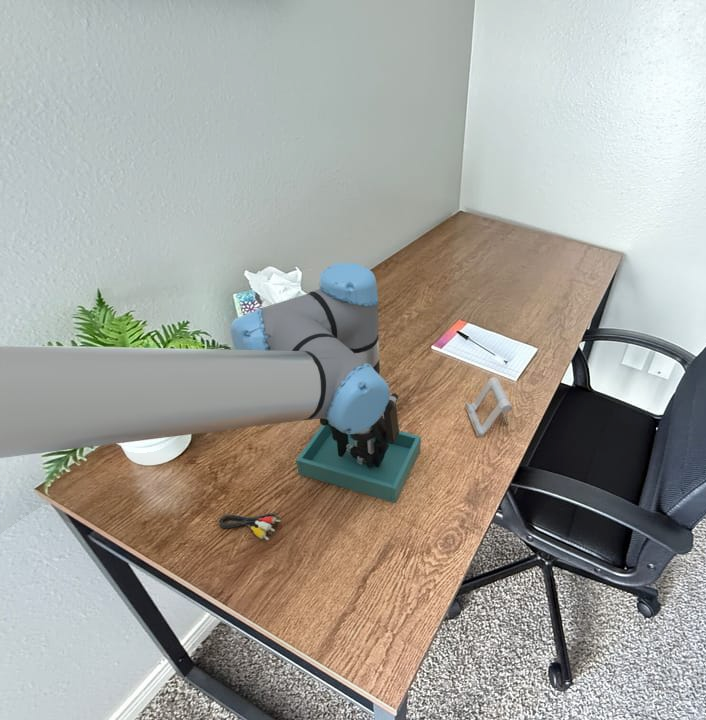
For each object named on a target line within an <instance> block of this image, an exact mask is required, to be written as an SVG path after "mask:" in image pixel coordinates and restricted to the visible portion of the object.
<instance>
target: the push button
mask: <svg viewBox="0 0 706 720" xmlns="http://www.w3.org/2000/svg"><path fill="white" fill-rule="evenodd" d="M350 437H351V438H352V439H353V440H355V443H354V446H352V445H350V444H348V445H347V446H346V447H347V449H346V450H347V451H349V452H350V454H351V455H352V457H353V458H355V459H357V462H358V463H359V464H361V465H362V462H363V463H365V464H367V466H368V467H369V468H372V467H373V466H374V464H375V461H374V445H373V437H375V434H374V432H373V430H372V428H371V427H369V428H368V429H366V430H364V431H362V432H360V433H356V434H350ZM348 446H350V447H348ZM348 449H350V450H348ZM359 461H360V462H361V463H360V462H359Z"/></svg>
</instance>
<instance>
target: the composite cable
mask: <svg viewBox="0 0 706 720" xmlns="http://www.w3.org/2000/svg"><path fill="white" fill-rule="evenodd" d="M231 520H234V522H227V521H231ZM281 522H282V520H281V519H279V515H277V514H276V513H273V512H269V513H265V514H260V515H257V516H251V517H249V516H248V517H247V516H241V515H238V514H226V515H225V514H224V515H223V516H221V517H220V518H219V520H218V524H219V527H220V528H222V529H231V528H237V527H240V526H247V527H248V528H250V530H251V531H253V534H254V535H255V536H256V537H257V538H258V539H260V540H266V541H269V540H270V538H269V537H268V536H267V535H268V534H269V535H274V533H275V532H276V529H275V528H273V527H274V526H275V525H277V524H278V523H281Z"/></svg>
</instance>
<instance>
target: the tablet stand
mask: <svg viewBox="0 0 706 720" xmlns="http://www.w3.org/2000/svg"><path fill="white" fill-rule="evenodd" d="M490 391H492V394H493V397H494V399H495V401H496V406H495V407H494V408H493V410H492V411H491V413H490V414H489V416H488V417H487V418H486V420H485V421H484V423H483V424H481V421H480V420H479V417H478V415H477V410H478V409H479V407H480V406H481V404H482V403H483V402H484V399H485V398H486V397H487V395H488V394H489V392H490ZM464 408H465V410H466V413H467V415H468V418H469V421H470V423H471V425H472V429H473V430H474V433H475V435H476V437H478V438H482V437H484V436H485V435H486V433H487V432H488V431H489V429H490V428H491V427H492V425H493V424H494V423H495V421H496V420H497V419H498V417H499V416H500V415H502V417H503V419H504V420H503V421H504V423H505V424H506V426H508V425H509V423H508V421H507V419H506V416H505V414H507V413H509V412H511V411H512V409H513V406H512V405H511V402H510V400H509V398H508V396H507V394H506V392H505V390H504V388H503V386H502V385H501V383H500V380H499V378H498V377H497V376H492V377H490V378H489V379H488V380H487V382H486V384H485V385H484V386H483V388H482V389H481V391H480V392H479V394H478V395H477V397H476V398H475V399H474V401H473V402H472V403H471V404H470V403H469V402H468V401H465V404H464Z"/></svg>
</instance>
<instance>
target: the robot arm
mask: <svg viewBox="0 0 706 720" xmlns="http://www.w3.org/2000/svg"><path fill="white" fill-rule="evenodd" d="M318 287H319V288H318V289H315V290H312V291H310V292H308V293H305V294H302V295H298V296H296V297H292V298H289V299H286V300H282V301H279V302H277V303H272V304H270V305H267V306H264V307H258V308H257V309H256V310H254V311H250V312H248V313H246V314H243V315H241V316H238V317H236V318H234V319H233V321H232V322H231V324H230V337H231V341H232V343H233V346H234V349H223V348H222V349H221V348H220V349H219V348H218V349H217V348H216V349H215V348H206V349H205V348H173V347H172V348H166V347H125V346H124V347H123V346H122V347H121V346H120V347H119V346H75V345H73V346H72V345H70V346H69V345H29V344H28V345H22V344H0V459H5V458H12V457H21V456H28V455H35V454H44V453H53V452H60V451H67V450H68V451H69V450H77V449H84V448H93V447H99V446H100V447H101V446H109V445H116V444H123V443H132V442H133V443H134V442H140V441H149V440H156V439H165V438H173V437H181V436H188V435H196V434H205V433H213V432H214V433H215V432H220V431H228V430H237V429H245V428H253V427H261V426H269V425H276V424H285V423H292V422H293V423H294V422H301V421H310V420H311V421H312V420H313V421H314V420H319V424H320V426H321V425H323V426H325V425H328V426H330V429H331V430H332V437H333V440H335V441H337V448H338V456H340V457H343V455H344V454H345V452H346V451H347V450H346V449H347V447H346V446H347V445H348V444H349V441H348V434H356V433H360V432H362V431H364V430H366V429H368V428H369V427H371V428H372V430H373V432H374V434H375V436H376V440H375V441H374V461H375V467H378V468H379V466H380V464H381V462H382V460H383V458H384V457H385V456H384V454H385V453H386V451H387V449H388V447H389V444H394V442H395V440H396V438H397V436H398V434H399V431H400V427H399V419H398V411H397V410H398V409H397V402H398V399H399V395H398V394H397V393H395V392H392V393H391V392H390V387H389V384H388V382H387V381H386V380H385V379H384V378H383V377H382V376H381V368H380V367H381V366H380V342H379V341H380V339H379V303H380V302H379V301H380V298H379V294H378V285H377V278H376V276H375V273H373V271H372V270H371V269H369V268H367V267H366V266H364V265H362V264H359V263H354V262H338V263H335V264H331V265H328V266H327V268H326V269H324V270H322V271H321V272H320V275H319V282H318ZM348 447H349V446H348Z"/></svg>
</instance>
